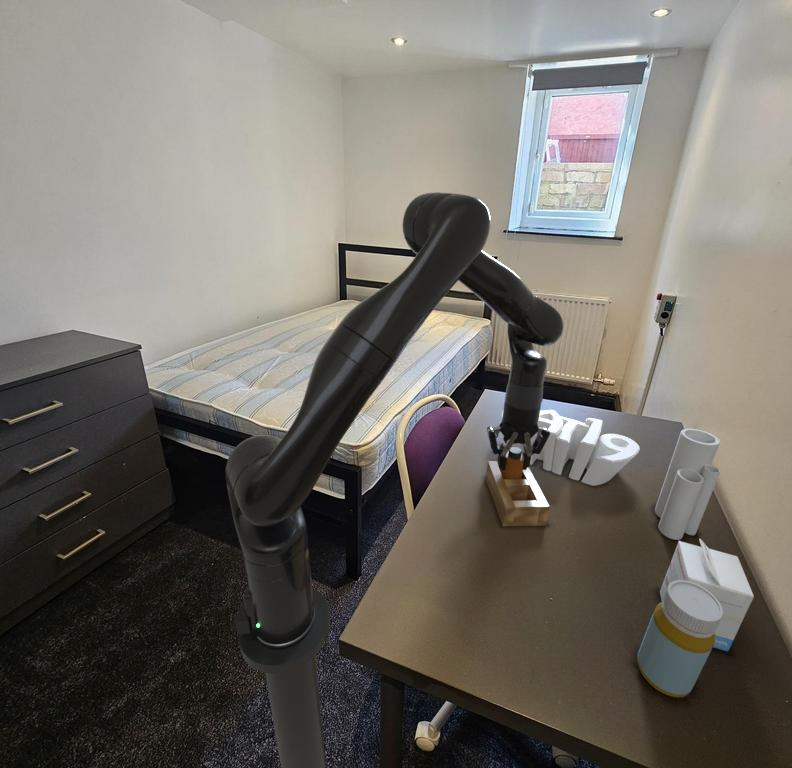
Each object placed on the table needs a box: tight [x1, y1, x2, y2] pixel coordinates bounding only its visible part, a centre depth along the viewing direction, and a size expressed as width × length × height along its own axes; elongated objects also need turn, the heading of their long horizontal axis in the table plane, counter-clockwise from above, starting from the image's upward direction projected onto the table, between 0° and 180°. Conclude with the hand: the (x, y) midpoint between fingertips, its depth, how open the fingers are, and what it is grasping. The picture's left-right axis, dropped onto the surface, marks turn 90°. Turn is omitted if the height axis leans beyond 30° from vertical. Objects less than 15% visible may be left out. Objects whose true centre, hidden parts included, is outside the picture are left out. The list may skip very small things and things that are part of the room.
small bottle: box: [502, 447, 525, 479], centre depth 94 cm, size 4×4×11 cm
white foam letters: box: [501, 409, 640, 487], centre depth 107 cm, size 35×16×11 cm, turn 55°
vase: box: [654, 428, 721, 541], centre depth 84 cm, size 11×7×20 cm, turn 160°
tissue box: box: [659, 538, 755, 652], centre depth 64 cm, size 9×8×13 cm
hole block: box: [485, 460, 551, 527], centre depth 92 cm, size 9×16×5 cm, turn 4°
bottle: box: [636, 580, 723, 698], centre depth 56 cm, size 7×7×15 cm
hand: (512, 467), depth 94 cm, fingers closed on small bottle, 4 cm apart
